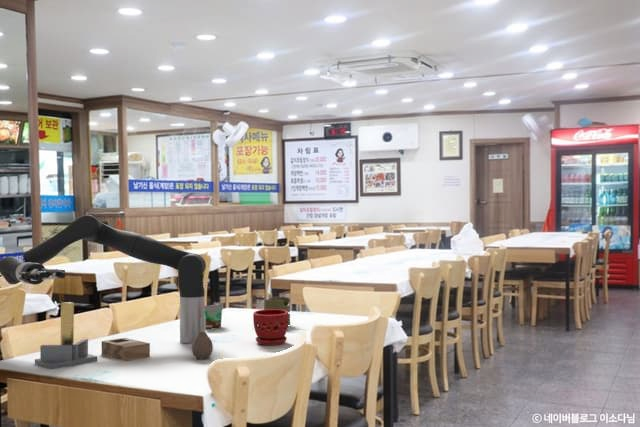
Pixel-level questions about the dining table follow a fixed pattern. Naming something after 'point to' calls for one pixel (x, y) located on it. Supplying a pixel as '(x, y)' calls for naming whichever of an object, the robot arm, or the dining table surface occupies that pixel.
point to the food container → (213, 315)
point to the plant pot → (270, 326)
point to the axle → (67, 323)
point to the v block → (64, 355)
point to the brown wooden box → (126, 349)
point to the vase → (202, 346)
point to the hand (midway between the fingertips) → (51, 276)
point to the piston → (278, 304)
